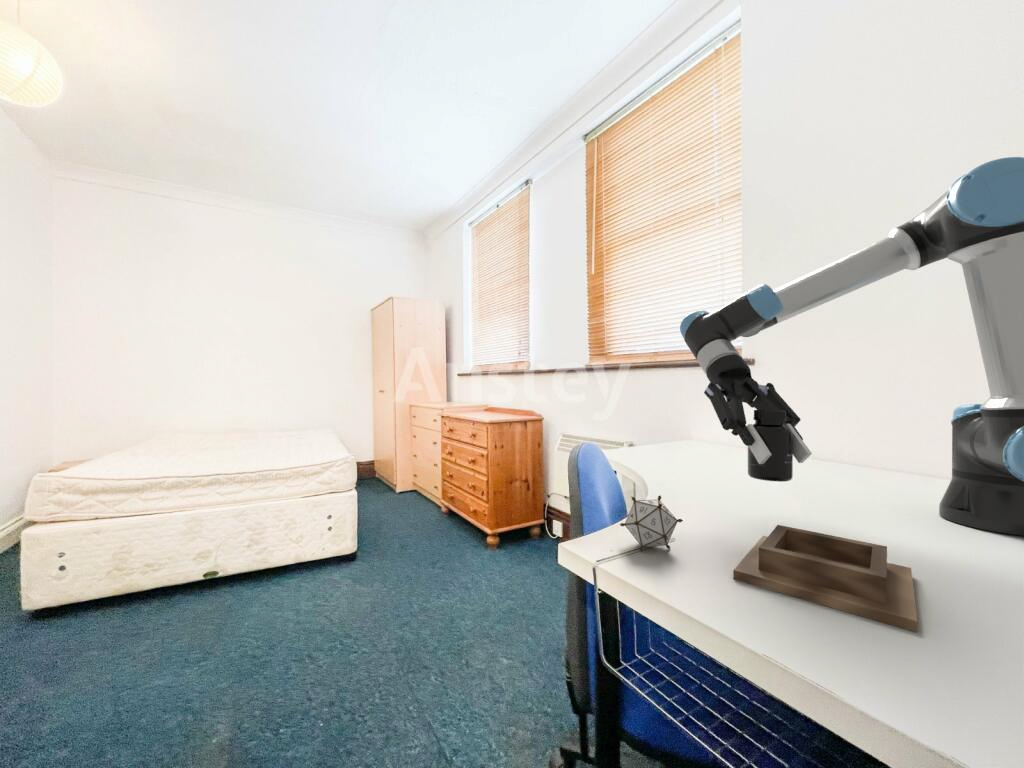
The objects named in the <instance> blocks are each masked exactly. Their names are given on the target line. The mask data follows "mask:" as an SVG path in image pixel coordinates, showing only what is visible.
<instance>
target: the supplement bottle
mask: <svg viewBox="0 0 1024 768" xmlns="http://www.w3.org/2000/svg"><path fill="white" fill-rule="evenodd" d="M753 420H754V423H753V424H752V425H753V426H754V428H755V430H756V431H757V433H758V434H759V436H760V437H761V439H762V440H763V442H764V443H765V445H766V446H767V448H768V450H769V451H770V453H771V454H772V455H771V456H770V457H769V458H768V459H767V460H766V462H765V463H764V464H759V463H758V461H757V460H756V458H755V456H754V455H753V453H752V451H751V450H750V448H749V447H748V446H747V474H748V477H750V478H752V479H756V480H760V481H768V482H780V483H781V482H789V481H792V480H793V474H794V473H793V472H794V471H793V470H794V469H793V468H794V466H793V463H794V462H793V460H794V459H793V457H794V455H793V433H792V430H791V429H790V428H789V427H788V426H786V425H785V424H784V421H786V411H783V410H757V409H754V410H753Z"/></svg>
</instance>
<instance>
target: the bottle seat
mask: <svg viewBox="0 0 1024 768" xmlns="http://www.w3.org/2000/svg"><path fill="white" fill-rule="evenodd" d="M732 574H733V575H732V576H733V578H732V579H733V580H736V581H739V582H743V583H745V584H749V585H753V586H757V587H760V588H764V589H765V590H766V589H767V590H771V591H774V592H778V593H781V594H784V595H788V596H791V597H793V598H797V599H802V600H805V601H808V602H812V603H815V604H819V605H822V606H826V607H828V608H832V609H836V610H839V611H843V612H846V613H848V614H849V613H850V614H853V615H856V616H860V617H862V618H866V619H870V620H874V621H877V622H880V623H883V624H886V625H887V624H888V625H891V626H893V627H897V628H901V629H904V630H907V631H910V632H915V633H918V616H917V615H918V614H917V607H916V600H915V599H916V598H915V591H914V584H913V583H914V581H913V575H912V574H913V573H912V567H909V566H904V565H899V564H896V563H895V564H894V563H891V562H888V546H886V545H882V544H876V543H871V542H866V541H861V540H855V539H852V538H847V537H842V536H835V535H831V534H825V533H821V532H817V531H810V530H806V529H801V528H796V527H792V526H791V527H790V526H786V525H782V524H777V525H776V526H775V528H773V530H772V531H771V532H770V534H769V535H768V536H767V535H762V536H761V537H760V538H759V540H758V541H757V542H756V543H755V544H754V545H753V547H751V549H750V550H749V551H748V552H747V554H746V555H745V556H744V557H743V558H742V560H740V561H739V563H737V565H736V567H735V568H734V569H733V571H732Z"/></svg>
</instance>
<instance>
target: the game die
mask: <svg viewBox="0 0 1024 768" xmlns="http://www.w3.org/2000/svg"><path fill="white" fill-rule="evenodd" d="M661 499H662V496H661V495H658V496H657V499H641V500H640V499H639V500H637V499H636V497H634V496H631V500H632V502H633V503H632V506H631V508H630V511H629V512H628V515H627V518H626V520H625V523H624V522H621V523H620V524H619V526H621V527H626V529H627V531H628V532H629V533H630V534H631V535H632V536H633V538H634V539H635V540H636V541H637V543H638V544H639V545H640V547H639V551H640V550H644V548H646V547H661V546H662V547H663V546H665V547H666V549H668V550H671V546H670V545H669V543H670V540H671V538H672V535H673V532H674V531H675V529H676V526H677V524H678V523H682V522H683V521H684V520H683V519H682V518H678V519H677V518H676V517H675V515H674V514H673V513H672V512H671V511H670V510H669V508H667V506H665V504H664V503H663V502H662V501H661Z"/></svg>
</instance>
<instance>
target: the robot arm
mask: <svg viewBox="0 0 1024 768" xmlns="http://www.w3.org/2000/svg"><path fill="white" fill-rule="evenodd" d="M944 259H948V260H950V261H953V262H956V263H958V264H959V265H960V266H961V267H962V271H963V276H964V281H965V286H966V289H967V294H968V300H969V304H970V308H971V313H972V318H973V322H974V326H975V331H976V335H977V340H978V344H979V348H980V353H981V358H982V362H983V363H982V364H983V367H984V372H985V376H986V380H987V385H988V390H989V394H990V395H989V398H988V399H987V400H986V401H984V402H983V403H973V404H962V405H959V406H957V407H955V408H954V409H953V412H952V414H953V415H952V419H951V421H950V422H951V423H950V424H951V426H952V428H951V431H952V432H951V443H952V445H951V480H950V482H949V484H948V486H947V489H946V490H945V492H944V494H943V496H942V498H941V500H940V501H939V505H938V515H939V516H940V517H941V518H944V519H946V520H948V521H950V522H953V523H955V524H956V523H957V524H959V525H964V526H968V527H971V528H976V529H980V530H985V531H989V532H990V531H991V532H994V533H1001V534H1007V535H1014V536H1015V535H1016V536H1022V537H1024V156H1023V157H1022V156H1020V157H1019V156H1012V157H1010V156H1009V157H1002V158H997V159H994V160H993V159H992V160H990V161H988V162H987V161H986V162H985V163H983V164H982V163H981V164H980V165H978V166H976V167H974V168H973V169H971V170H970V171H969V172H967V173H966V174H963V175H961V177H959V178H958V179H957V180H956V181H954V182H953V184H951V186H950V187H949V189H948V190H947V191H945V192H944V193H943V194H942V195H941V196H940V197H939V198H938V199H936V200H935V201H934V202H933V203H932V204H930V206H929V207H927V208H925V209H924V210H923V211H922V212H920V213H919V214H918V215H916V216H915V217H914V218H912V219H910V220H909V221H907V222H905V223H903V224H901V225H899V226H897V227H895V228H893V229H891V230H890V232H889V233H888V235H887V237H886V238H883V239H880V240H878V241H876V242H875V243H872V244H869V245H868V246H865V247H863V248H861V249H860V250H857V251H854V252H852V253H850V254H849V255H846V256H844V257H842V258H839V259H837V260H835V261H833V262H831V263H829V264H827V265H825V266H823V267H820V268H818V269H816V270H814V271H812V272H809V273H808V274H806V275H803V276H801V277H799V278H797V279H795V280H792V281H791V282H788V283H786V284H784V285H781V286H780V287H777V288H775V289H773V288H772V287H771V286H769V285H768V284H765V283H760V284H758V285H757V286H755V287H753V288H751V289H748V290H746V292H744V293H743V294H741V295H739V296H738V297H736V298H734V299H733V300H731V301H729V302H728V303H726V304H725V305H723V306H722V307H720V308H718V309H716V310H714V311H712V312H711V313H710V312H708V311H706V310H703V309H700V310H698V311H691V312H690V313H689V314H687V315H686V316H685V317H684V318H683V319H682V321H681V322H680V326H679V330H680V334H681V336H682V338H683V339H684V342H685V344H686V345H687V347H688V349H689V350H690V352H691V353H692V355H693V356H694V358H695V360H696V361H697V363H698V364H699V366H700V368H701V369H702V371H703V373H704V374H705V375H706V378H707V379H708V381H709V383H708V385H707V387H705V390H704V392H703V393H704V395H705V396H706V397H707V398H708V400H709V401H710V403H711V404H712V407H713V409H714V411H715V414H716V416H717V419H718V420H719V423H720V425H721V427H722V429H724V431H729V430H731V433H730V434H732V435H734V436H739V438H740V439H741V441H742V443H743V444H744V445H745V446H746V447H747V448H748V447H749V448H750V450H751V451H752V453H753V455H754V456H755V458H756V460H757V461H758V463H759V464H764V463H765V462H766V460H767V459H768V458H769V457H770V456H771V455H772V454H771V453H770V451H769V450H768V448H767V446H766V445H765V443H764V442H763V440H762V439H761V437H760V436H759V434H758V433H757V431H756V430H755V428H754V426H753V424H752V423H748V424H747V418H746V415H745V409H744V404H743V403H746V405H748V407H749V406H750V408H754V409H755V410H783V411H786V421H784V424H785V425H786V426H788V427H789V428H790V429H791V430H792V433H793V457H794V458H795V460H796V461H797V463H798V464H803V463H804V462H806V461H807V459H809V458H810V456H811V455H812V454H813V453H812V452H811V450H810V448H809V447H808V445H806V443H805V442H804V438H803V436H802V435H801V434H800V432H799V431H798V430H797V428H796V426H797V425H798V424H799V423H800V421H801V418H800V417H799V416H798V415H797V413H796V412H795V411H794V410H793V409H792V407H790V405H788V403H787V402H786V400H785V399H783V398H782V396H781V395H780V394H779V393H778V391H776V388H775V387H774V384H773V383H772V382H767V383H766V384H765V385H763V384H759V382H757V381H756V380H755V379H754V378H752V373H751V368H750V367H749V365H748V363H747V362H746V361H745V360H744V358H743V357H742V356H741V354H740V352H739V351H738V350H737V349H736V347H735V346H734V344H733V343H732V342H733V341H735V340H736V339H738V338H740V337H743V338H749V337H753V336H755V335H757V334H759V333H760V332H762V331H764V330H766V329H769V328H771V327H773V326H775V325H777V324H779V323H782V322H784V321H787V320H789V319H791V318H793V317H796V316H797V315H800V314H803V313H805V312H808V311H809V310H813V309H814V308H817V307H819V306H821V305H824V304H827V303H828V302H830V301H833V300H835V299H836V300H837V298H840V297H842V296H845V295H847V294H850V293H851V292H855V291H856V290H859V289H861V288H863V287H866V286H868V285H871V284H872V283H876V282H878V281H880V280H882V279H884V278H886V277H890V276H892V275H894V274H896V273H898V272H901V271H903V270H909V271H916V270H918V269H920V268H922V267H923V268H924V267H925V266H927V265H930V264H933V263H935V262H936V263H937V262H938V261H941V260H944Z"/></svg>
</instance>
